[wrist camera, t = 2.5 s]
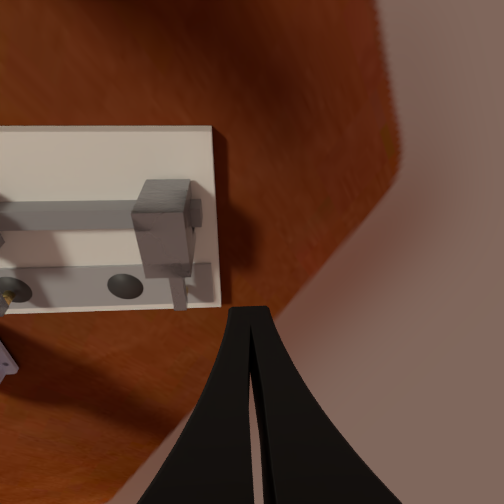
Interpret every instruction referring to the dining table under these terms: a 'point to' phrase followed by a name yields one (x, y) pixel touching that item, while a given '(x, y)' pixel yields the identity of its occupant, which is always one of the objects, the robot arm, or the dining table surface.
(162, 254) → the grey sliding bolt
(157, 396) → the dining table surface
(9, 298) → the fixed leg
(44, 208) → the board
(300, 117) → the dining table surface
